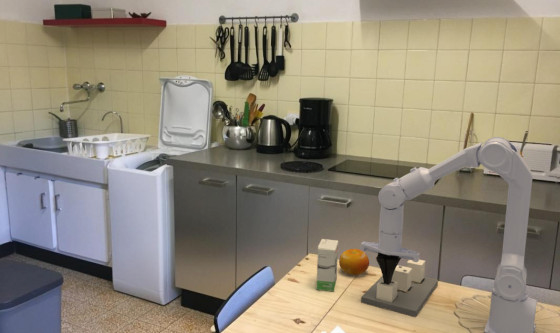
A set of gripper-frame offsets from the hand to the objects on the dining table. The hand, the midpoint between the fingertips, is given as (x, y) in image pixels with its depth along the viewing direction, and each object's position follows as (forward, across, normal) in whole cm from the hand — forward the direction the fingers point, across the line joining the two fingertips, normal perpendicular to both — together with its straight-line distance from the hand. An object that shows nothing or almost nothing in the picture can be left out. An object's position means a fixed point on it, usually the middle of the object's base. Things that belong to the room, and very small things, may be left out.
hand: (387, 282), depth 120 cm
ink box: (+6, +18, -2) cm, 18 cm away
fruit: (+6, +14, -14) cm, 21 cm away
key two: (+4, -1, -7) cm, 8 cm away
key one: (+4, -3, -15) cm, 16 cm away
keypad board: (+5, -2, -8) cm, 9 cm away
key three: (+5, 0, 0) cm, 5 cm away
